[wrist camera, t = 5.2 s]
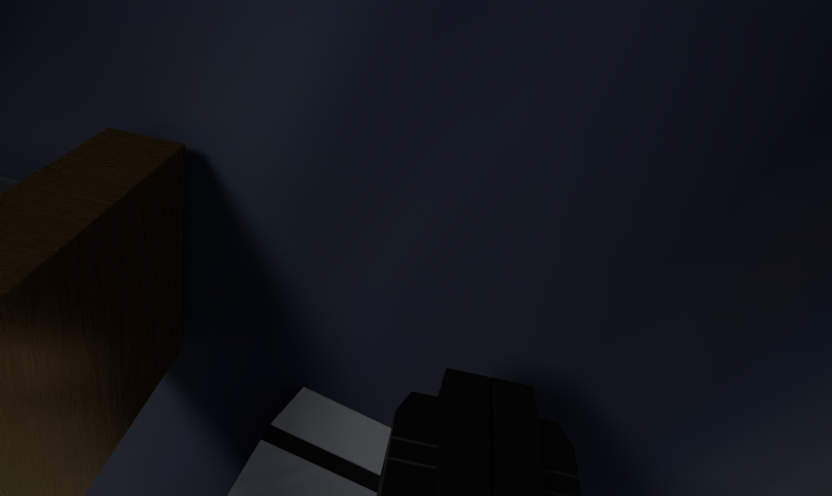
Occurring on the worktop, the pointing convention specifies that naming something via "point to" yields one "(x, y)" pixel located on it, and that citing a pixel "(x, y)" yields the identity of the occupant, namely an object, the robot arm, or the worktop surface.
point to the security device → (316, 452)
